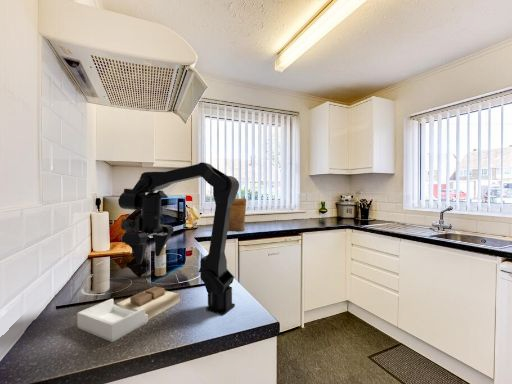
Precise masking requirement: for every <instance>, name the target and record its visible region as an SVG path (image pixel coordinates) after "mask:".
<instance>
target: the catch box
mask: <svg viewBox="0 0 512 384" xmlns="http://www.w3.org/2000/svg"><path fill="white" fill-rule="evenodd" d="M76 316H77V317H76V318H77V329H79V330H81V331H83V332H86V333H89V334H92V335H94V336H95V337H98V338H100V339H103V340H106V341H107V342H111V343H113V342H116V341H117V340H119V339H121V338H122V337H124V336H126V335H127V334H130V333H131V332H133V331H135V330H137V329H138V328H141V327H142V326H143V325H146V324H147V323H148V322H149V320H148V315H147V314H145V308H142V309H140V310H138V311H134V310H131V309H128V308H125V307H121V306H118V305H117V304H115V303H114V298H110V299H107V300H105V301H102V302H100V303H97V304H95V305H92V306H90V307H88V308H84V309H83V310H80V311H78V312H77V314H76Z"/></svg>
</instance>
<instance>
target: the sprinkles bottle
mask: <svg viewBox="0 0 512 384" xmlns="http://www.w3.org/2000/svg"><path fill="white" fill-rule="evenodd" d="M166 247H167V243H166V244H165V246H164V248H163V250H162V252H161V253H160V255H159V256H156V254H155V253H154V276H156V277H162V276H165V275H167V267H166V266H167V254H166ZM153 249H154V250H155V242H154V243H153Z"/></svg>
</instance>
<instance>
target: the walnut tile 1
mask: <svg viewBox="0 0 512 384" xmlns="http://www.w3.org/2000/svg"><path fill="white" fill-rule="evenodd" d="M129 298H130V304H132V305H136V306H139V307H140V306H142V305H144V304H147V303H149V302H151V301H152V296H151V294H148V293H144V291H141V292H138V293H136V294H134V295H132V296H130V297H129Z"/></svg>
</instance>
